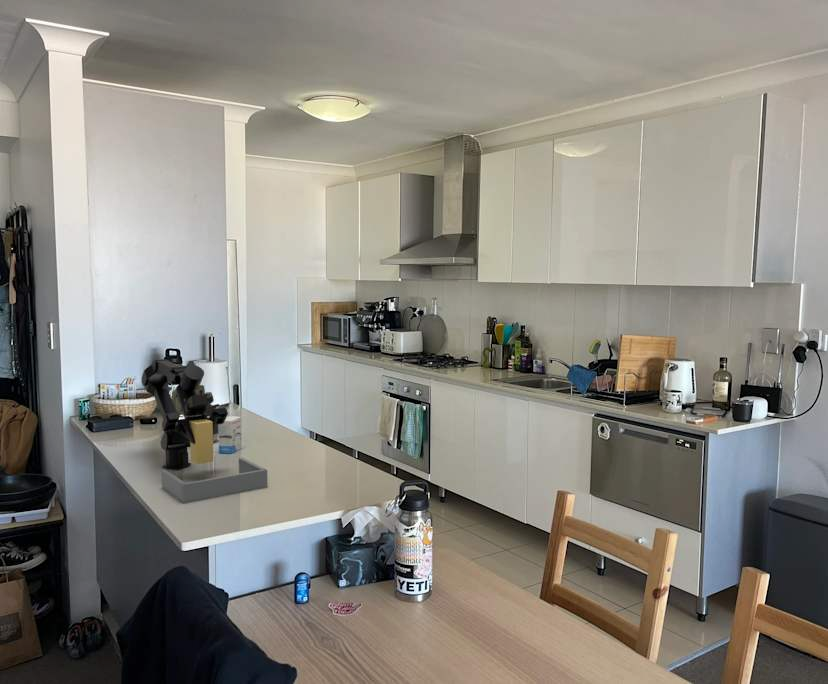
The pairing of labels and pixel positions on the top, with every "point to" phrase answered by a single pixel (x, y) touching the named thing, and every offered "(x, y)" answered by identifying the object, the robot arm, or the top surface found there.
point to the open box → (216, 483)
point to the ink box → (230, 435)
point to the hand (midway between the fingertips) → (203, 442)
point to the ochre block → (202, 441)
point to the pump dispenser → (215, 432)
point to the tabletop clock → (176, 400)
